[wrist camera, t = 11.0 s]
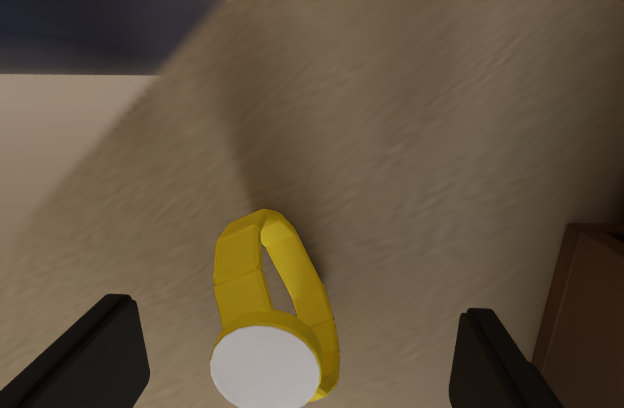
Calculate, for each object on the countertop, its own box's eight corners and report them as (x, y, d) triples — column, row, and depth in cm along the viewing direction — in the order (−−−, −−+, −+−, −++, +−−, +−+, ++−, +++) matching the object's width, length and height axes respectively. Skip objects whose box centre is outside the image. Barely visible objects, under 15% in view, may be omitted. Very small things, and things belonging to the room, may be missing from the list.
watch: (355, 306, 15) (368, 446, 9) (295, 327, 15) (274, 472, 10) (290, 180, 13) (259, 258, 7) (226, 209, 14) (152, 302, 8)
